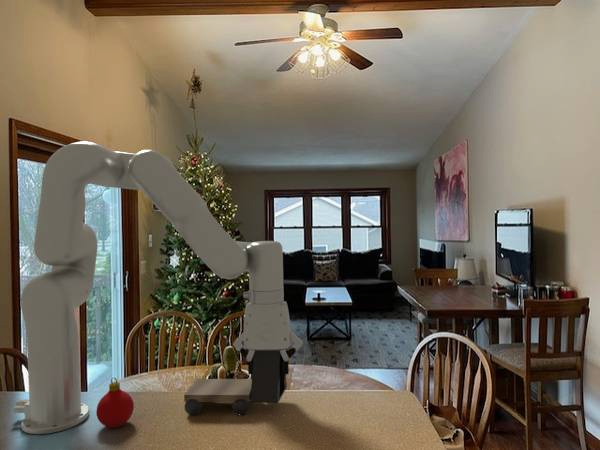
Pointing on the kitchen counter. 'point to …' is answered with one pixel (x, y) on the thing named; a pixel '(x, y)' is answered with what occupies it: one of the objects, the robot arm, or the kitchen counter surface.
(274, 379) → the phone stand
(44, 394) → the robot arm
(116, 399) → the christmas ornament
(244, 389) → the trolley
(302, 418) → the kitchen counter surface
